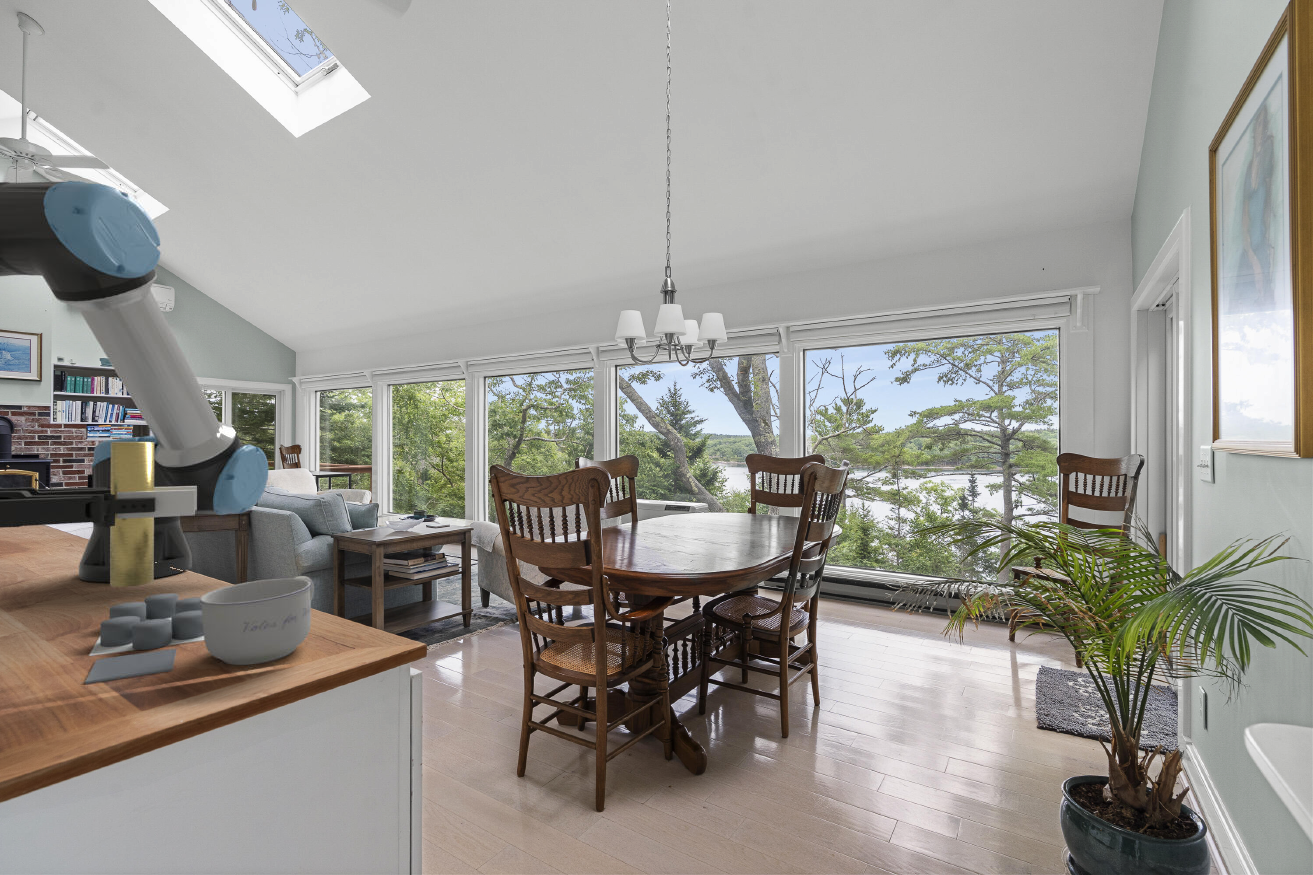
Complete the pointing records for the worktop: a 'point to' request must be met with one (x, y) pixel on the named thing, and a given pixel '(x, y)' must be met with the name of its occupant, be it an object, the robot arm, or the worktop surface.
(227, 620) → the teacup
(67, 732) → the worktop surface
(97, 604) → the worktop surface
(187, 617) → the mat
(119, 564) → the cylinder
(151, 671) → the slate coaster
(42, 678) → the worktop surface
